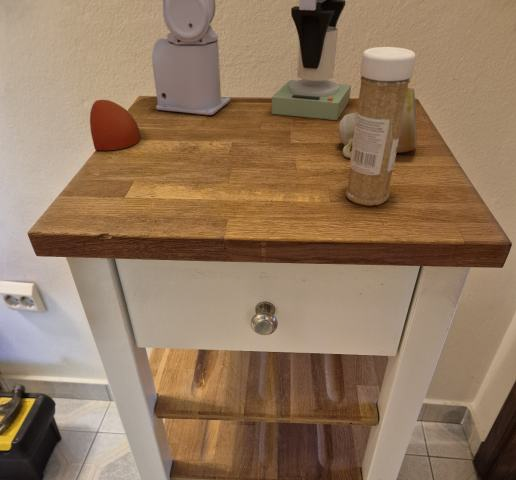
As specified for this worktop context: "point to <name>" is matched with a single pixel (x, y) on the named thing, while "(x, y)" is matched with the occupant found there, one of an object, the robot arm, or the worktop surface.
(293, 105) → the kitchen scale
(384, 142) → the sprinkles bottle
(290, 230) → the worktop surface
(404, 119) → the mug
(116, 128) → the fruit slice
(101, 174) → the worktop surface
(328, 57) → the white hollow cylinder
